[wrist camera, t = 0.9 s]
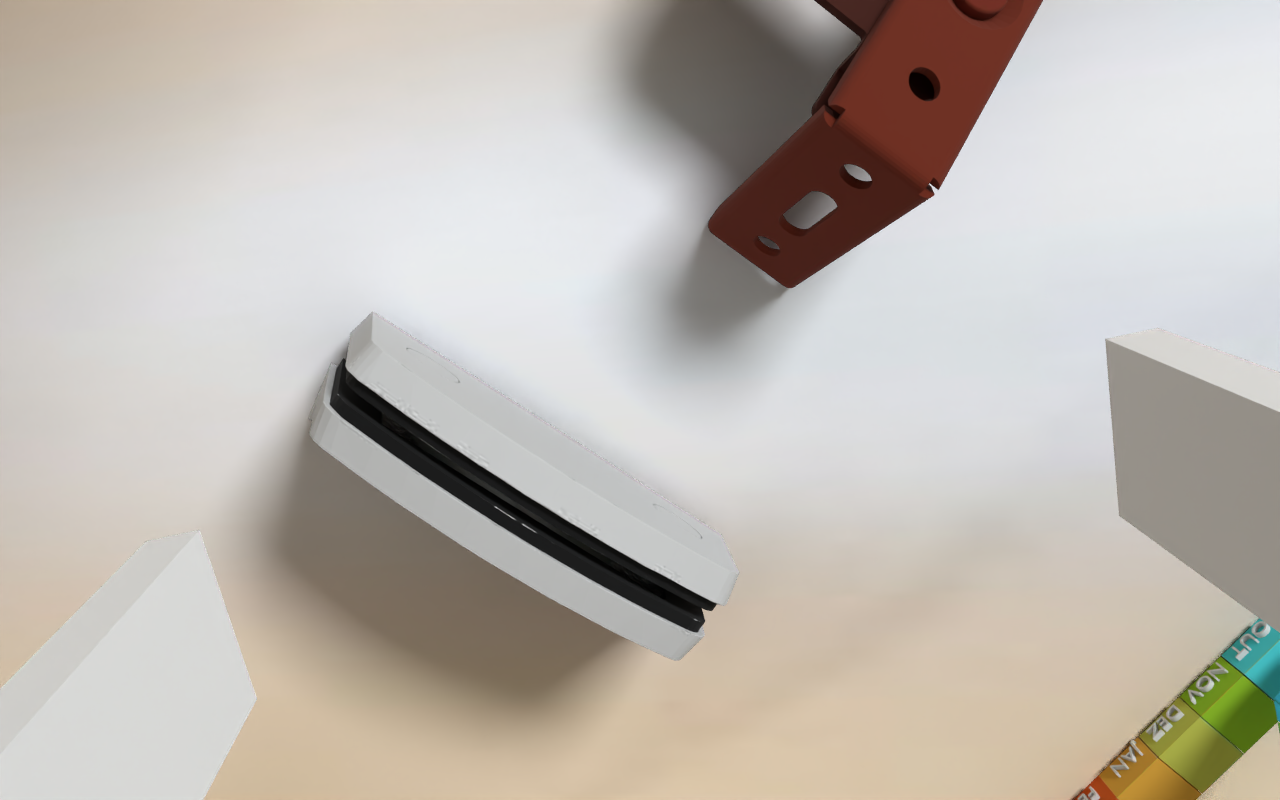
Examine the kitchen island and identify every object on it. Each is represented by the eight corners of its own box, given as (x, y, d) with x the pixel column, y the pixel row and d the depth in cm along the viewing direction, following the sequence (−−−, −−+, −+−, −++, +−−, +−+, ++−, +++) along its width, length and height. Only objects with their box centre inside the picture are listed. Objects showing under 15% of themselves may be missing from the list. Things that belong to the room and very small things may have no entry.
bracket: (567, 127, 39) (650, -26, 29) (749, -126, 43) (872, -327, 34) (792, 292, 40) (940, 196, 31) (945, 31, 45) (1113, -121, 35)
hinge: (306, 405, 41) (244, 460, 31) (372, 304, 41) (331, 327, 31) (655, 619, 44) (699, 729, 34) (719, 527, 44) (781, 612, 34)
